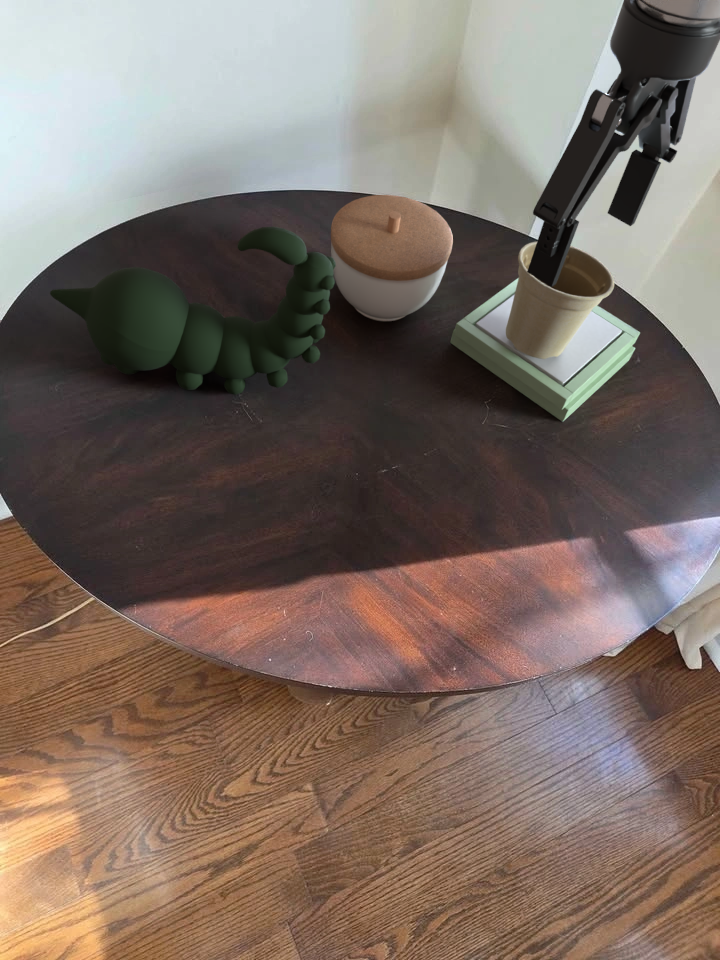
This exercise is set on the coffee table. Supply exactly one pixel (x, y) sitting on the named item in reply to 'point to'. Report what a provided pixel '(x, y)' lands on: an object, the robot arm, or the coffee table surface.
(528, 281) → the flower pot
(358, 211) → the lidded bowl
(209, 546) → the coffee table surface
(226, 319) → the toy figurine
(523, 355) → the pan
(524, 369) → the scale
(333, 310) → the coffee table surface
